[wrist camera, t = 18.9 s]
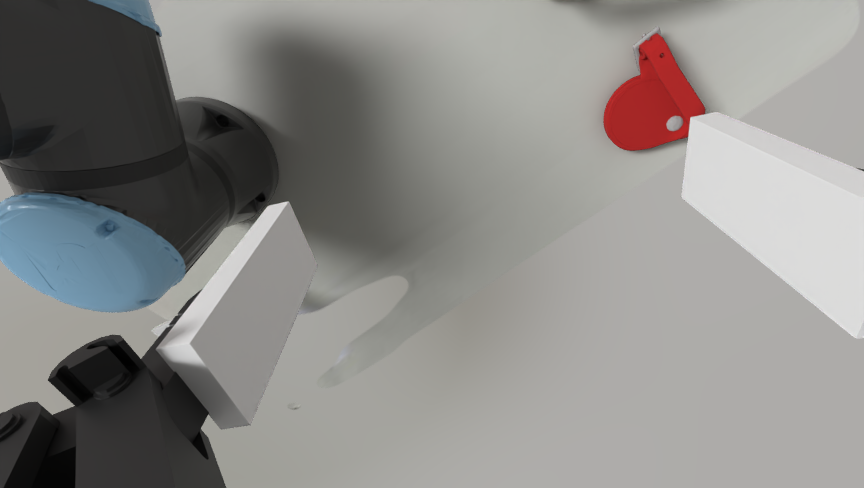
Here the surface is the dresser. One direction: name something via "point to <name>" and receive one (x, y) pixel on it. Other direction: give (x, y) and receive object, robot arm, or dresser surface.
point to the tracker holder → (652, 100)
